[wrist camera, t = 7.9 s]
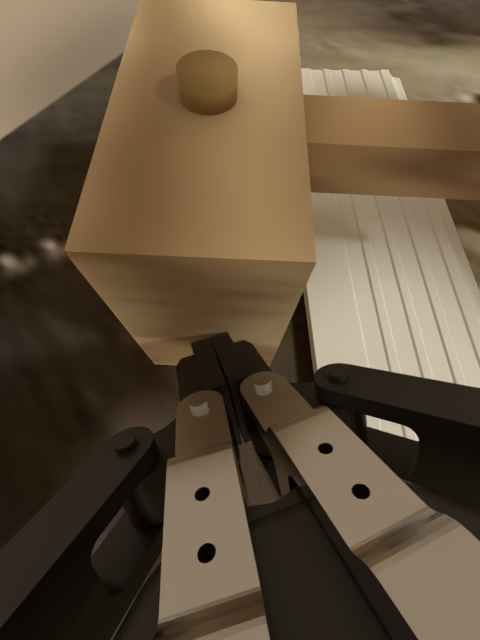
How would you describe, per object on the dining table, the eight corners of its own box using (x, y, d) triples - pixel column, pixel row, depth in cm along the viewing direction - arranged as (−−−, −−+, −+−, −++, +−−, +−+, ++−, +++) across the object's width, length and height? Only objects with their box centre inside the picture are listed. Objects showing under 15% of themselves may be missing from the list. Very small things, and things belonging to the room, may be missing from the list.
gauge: (441, 204, 22) (619, -7, 12) (491, 377, 17) (859, 265, 7) (178, 192, 21) (136, -36, 12) (154, 364, 17) (46, 228, 7)
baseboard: (410, 89, 28) (275, 87, 27) (430, 50, 25) (280, 47, 25) (565, 482, 16) (323, 491, 15) (634, 488, 13) (344, 499, 12)
